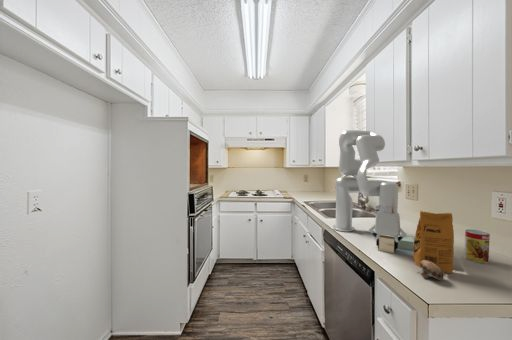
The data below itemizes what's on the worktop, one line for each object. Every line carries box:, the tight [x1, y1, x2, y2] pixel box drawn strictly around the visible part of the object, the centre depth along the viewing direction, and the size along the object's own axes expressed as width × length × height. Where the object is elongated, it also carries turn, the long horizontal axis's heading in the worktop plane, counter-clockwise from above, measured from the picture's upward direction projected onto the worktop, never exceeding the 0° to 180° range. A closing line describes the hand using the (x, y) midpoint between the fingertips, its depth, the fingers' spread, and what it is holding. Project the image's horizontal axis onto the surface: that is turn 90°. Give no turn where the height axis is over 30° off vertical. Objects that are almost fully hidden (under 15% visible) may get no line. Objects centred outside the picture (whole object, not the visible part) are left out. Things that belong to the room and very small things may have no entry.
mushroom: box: [419, 260, 444, 281], centre depth 92 cm, size 8×8×6 cm
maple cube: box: [379, 234, 395, 254], centre depth 119 cm, size 6×6×6 cm
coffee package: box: [412, 210, 455, 274], centre depth 101 cm, size 10×12×22 cm
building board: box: [377, 247, 413, 258], centre depth 121 cm, size 17×15×1 cm
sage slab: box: [398, 235, 415, 251], centre depth 123 cm, size 8×8×4 cm
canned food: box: [464, 229, 491, 264], centre depth 111 cm, size 8×8×12 cm
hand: (386, 248), depth 119 cm, fingers closed on maple cube, 6 cm apart
